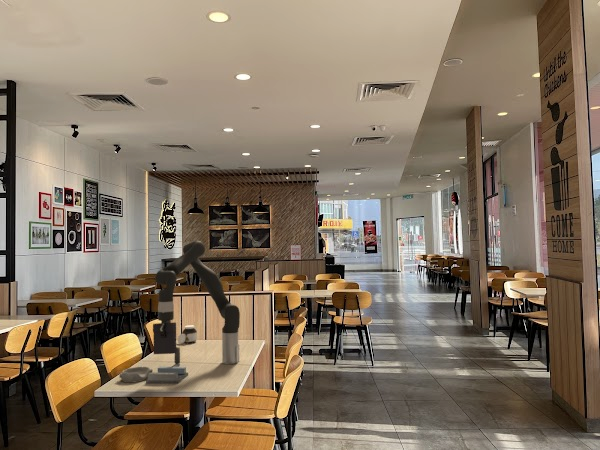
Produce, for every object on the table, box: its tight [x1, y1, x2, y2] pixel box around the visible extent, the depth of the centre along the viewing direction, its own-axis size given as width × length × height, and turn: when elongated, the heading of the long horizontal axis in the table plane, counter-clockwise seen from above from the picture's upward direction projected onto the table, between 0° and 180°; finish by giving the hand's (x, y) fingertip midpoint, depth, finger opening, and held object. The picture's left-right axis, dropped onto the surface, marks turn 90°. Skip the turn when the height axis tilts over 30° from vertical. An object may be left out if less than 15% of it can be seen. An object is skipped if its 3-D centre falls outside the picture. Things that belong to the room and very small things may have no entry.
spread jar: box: [176, 324, 198, 345], centre depth 340 cm, size 12×11×12 cm
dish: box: [119, 366, 154, 383], centre depth 246 cm, size 14×14×5 cm
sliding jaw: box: [157, 346, 187, 374], centre depth 254 cm, size 11×14×11 cm
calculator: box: [152, 322, 177, 355], centre depth 242 cm, size 11×4×15 cm, turn 78°
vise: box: [145, 372, 189, 385], centre depth 244 cm, size 16×16×4 cm
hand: (166, 345), depth 243 cm, fingers closed on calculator, 1 cm apart
